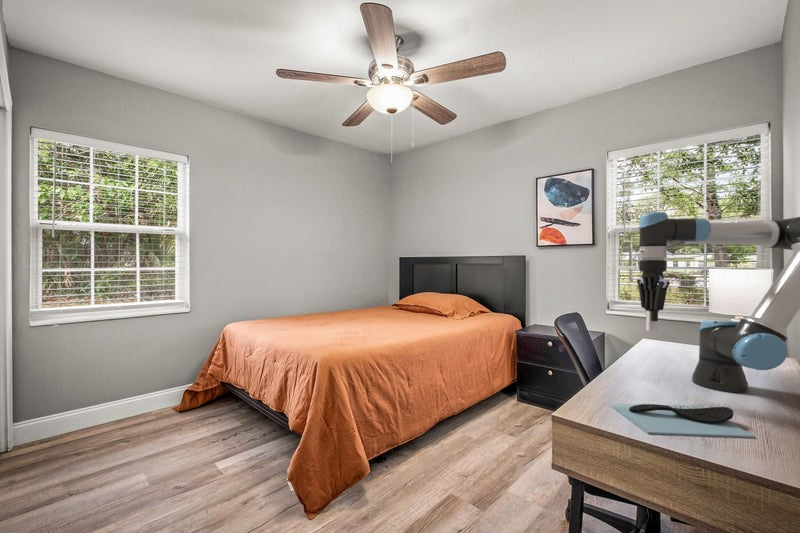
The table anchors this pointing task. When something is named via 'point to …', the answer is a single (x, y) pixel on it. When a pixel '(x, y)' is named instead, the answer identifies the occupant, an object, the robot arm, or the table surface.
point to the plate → (677, 423)
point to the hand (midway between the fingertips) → (651, 330)
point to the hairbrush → (691, 412)
